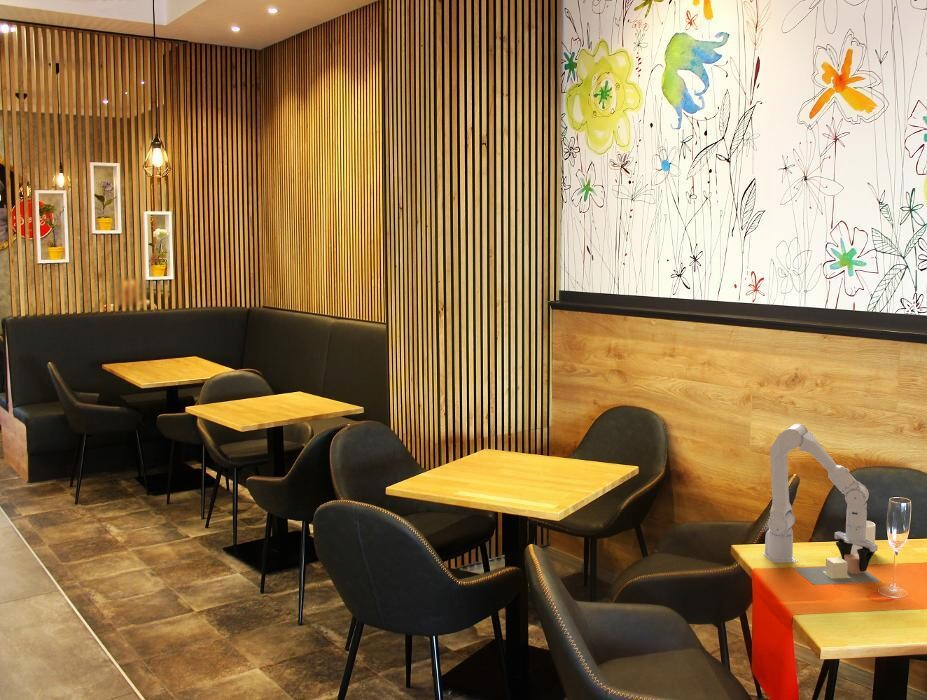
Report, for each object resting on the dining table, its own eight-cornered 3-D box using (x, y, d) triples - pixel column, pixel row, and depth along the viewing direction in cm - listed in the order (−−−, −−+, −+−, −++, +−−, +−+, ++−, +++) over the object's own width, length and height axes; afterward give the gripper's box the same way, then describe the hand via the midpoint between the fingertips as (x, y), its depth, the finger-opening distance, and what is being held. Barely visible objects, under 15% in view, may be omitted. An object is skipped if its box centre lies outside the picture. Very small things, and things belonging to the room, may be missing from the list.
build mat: (793, 569, 289) (793, 567, 289) (858, 566, 291) (858, 564, 291) (813, 586, 275) (813, 584, 275) (881, 583, 277) (881, 581, 277)
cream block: (825, 572, 285) (826, 558, 284) (839, 571, 285) (839, 557, 285) (833, 577, 280) (833, 563, 280) (847, 576, 281) (847, 562, 280)
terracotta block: (843, 568, 288) (844, 554, 287) (857, 567, 288) (858, 553, 288) (851, 573, 284) (851, 559, 283) (865, 573, 284) (865, 558, 283)
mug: (878, 563, 294) (879, 531, 293) (850, 561, 296) (851, 529, 295) (872, 550, 305) (873, 520, 304) (845, 548, 307) (846, 518, 306)
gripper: (827, 520, 289) (826, 562, 291) (866, 533, 276) (864, 577, 278) (844, 516, 292) (842, 558, 294) (883, 529, 279) (881, 573, 281)
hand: (854, 567), depth 286 cm, fingers closed on terracotta block, 6 cm apart
